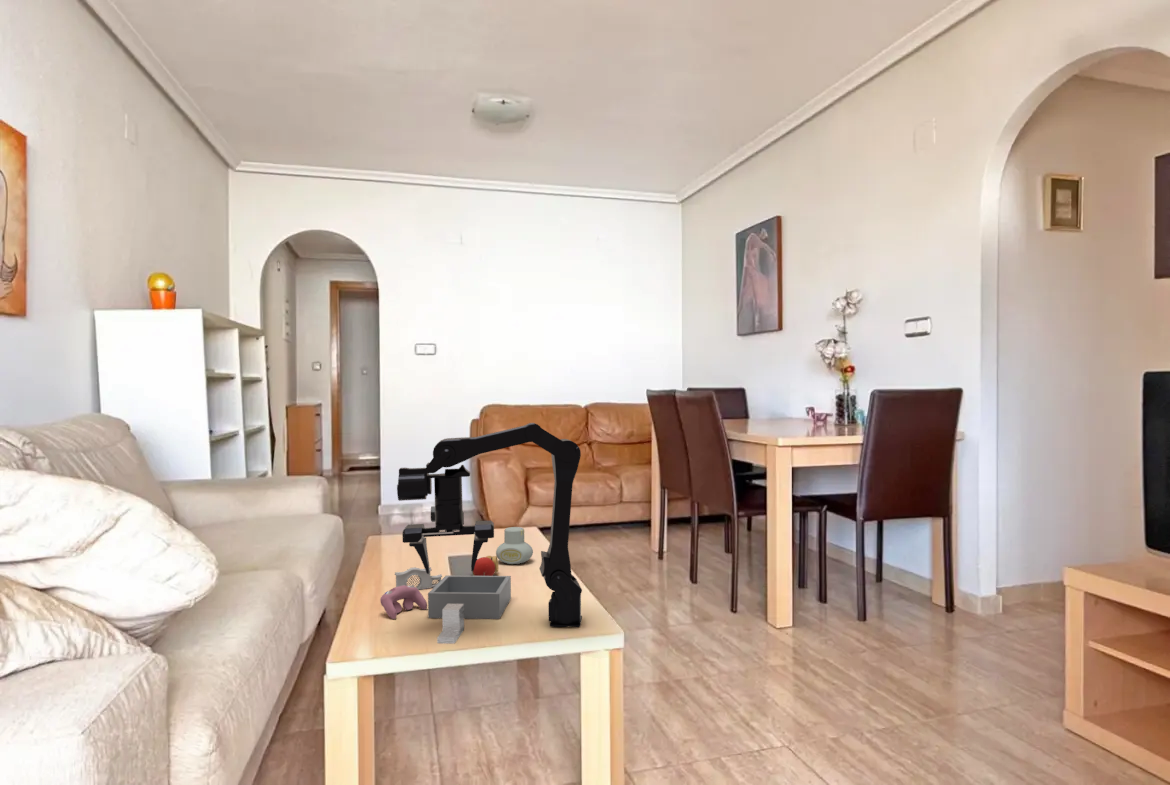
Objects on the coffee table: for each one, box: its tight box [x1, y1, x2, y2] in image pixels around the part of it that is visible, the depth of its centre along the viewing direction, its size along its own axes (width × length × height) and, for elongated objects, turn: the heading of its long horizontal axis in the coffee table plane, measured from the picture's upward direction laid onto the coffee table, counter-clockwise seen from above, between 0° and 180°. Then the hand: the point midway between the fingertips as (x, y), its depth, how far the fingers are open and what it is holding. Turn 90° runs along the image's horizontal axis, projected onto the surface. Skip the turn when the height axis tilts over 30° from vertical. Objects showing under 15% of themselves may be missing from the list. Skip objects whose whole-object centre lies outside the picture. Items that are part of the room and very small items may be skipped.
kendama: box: [470, 555, 500, 576], centre depth 188 cm, size 8×6×18 cm
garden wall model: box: [394, 566, 443, 591], centre depth 172 cm, size 12×2×6 cm, turn 121°
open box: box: [427, 575, 512, 620], centre depth 157 cm, size 16×15×6 cm
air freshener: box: [495, 526, 534, 565], centre depth 200 cm, size 11×8×10 cm
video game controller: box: [379, 584, 428, 620], centre depth 154 cm, size 10×5×7 cm, turn 141°
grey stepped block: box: [436, 604, 465, 645], centre depth 138 cm, size 4×8×6 cm, turn 177°
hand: (450, 572), depth 142 cm, fingers open, 9 cm apart
